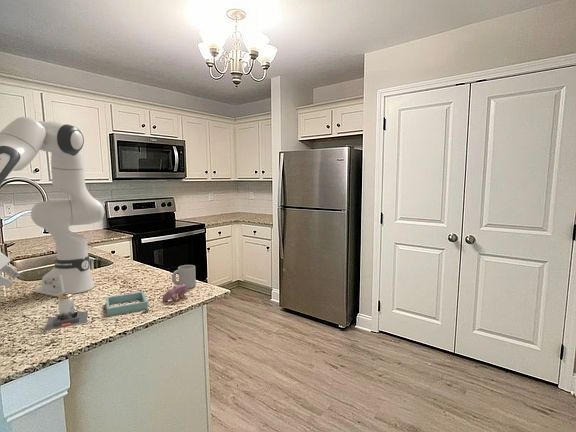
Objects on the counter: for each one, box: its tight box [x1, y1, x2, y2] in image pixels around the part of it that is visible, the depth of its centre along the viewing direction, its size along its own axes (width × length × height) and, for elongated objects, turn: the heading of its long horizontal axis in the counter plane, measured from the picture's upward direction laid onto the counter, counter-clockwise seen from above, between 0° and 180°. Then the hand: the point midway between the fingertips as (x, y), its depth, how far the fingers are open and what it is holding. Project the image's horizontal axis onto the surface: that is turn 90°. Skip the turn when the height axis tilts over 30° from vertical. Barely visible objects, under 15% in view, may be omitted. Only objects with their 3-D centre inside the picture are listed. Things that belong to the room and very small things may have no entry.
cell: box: [57, 293, 75, 321], centre depth 103 cm, size 4×4×9 cm
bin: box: [105, 291, 149, 317], centre depth 115 cm, size 13×13×4 cm
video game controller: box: [161, 284, 190, 302], centre depth 126 cm, size 10×5×7 cm, turn 148°
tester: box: [43, 310, 89, 332], centre depth 103 cm, size 11×11×3 cm
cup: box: [171, 264, 197, 290], centre depth 140 cm, size 7×10×9 cm
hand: (14, 280), depth 95 cm, fingers open, 8 cm apart
